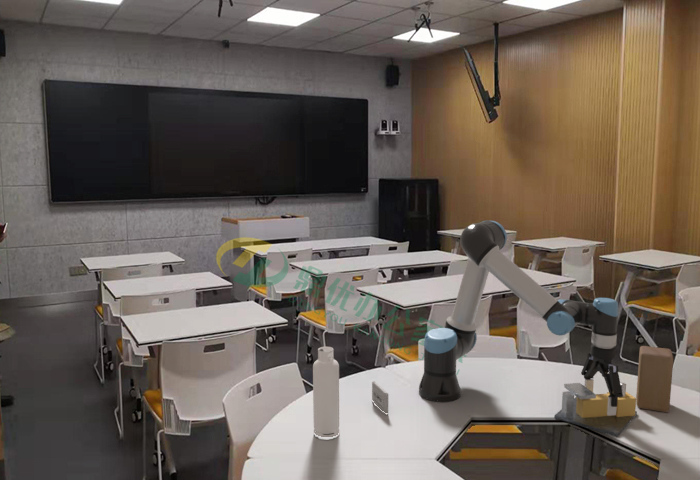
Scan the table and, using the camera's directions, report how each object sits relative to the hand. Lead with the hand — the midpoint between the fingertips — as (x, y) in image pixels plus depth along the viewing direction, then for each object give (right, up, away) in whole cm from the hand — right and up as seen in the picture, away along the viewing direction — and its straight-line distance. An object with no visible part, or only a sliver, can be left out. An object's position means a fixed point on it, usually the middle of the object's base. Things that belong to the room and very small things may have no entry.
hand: (599, 406), depth 196 cm
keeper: (-9, -4, -1) cm, 10 cm away
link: (+2, -3, +1) cm, 3 cm away
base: (-1, -4, +1) cm, 4 cm away
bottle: (-91, -6, -11) cm, 92 cm away
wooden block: (+22, -3, +9) cm, 24 cm away
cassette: (-73, -3, +8) cm, 74 cm away
